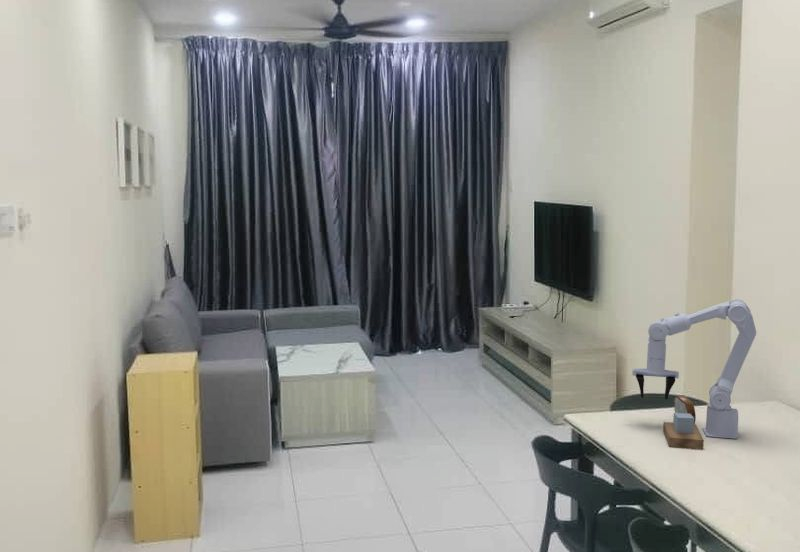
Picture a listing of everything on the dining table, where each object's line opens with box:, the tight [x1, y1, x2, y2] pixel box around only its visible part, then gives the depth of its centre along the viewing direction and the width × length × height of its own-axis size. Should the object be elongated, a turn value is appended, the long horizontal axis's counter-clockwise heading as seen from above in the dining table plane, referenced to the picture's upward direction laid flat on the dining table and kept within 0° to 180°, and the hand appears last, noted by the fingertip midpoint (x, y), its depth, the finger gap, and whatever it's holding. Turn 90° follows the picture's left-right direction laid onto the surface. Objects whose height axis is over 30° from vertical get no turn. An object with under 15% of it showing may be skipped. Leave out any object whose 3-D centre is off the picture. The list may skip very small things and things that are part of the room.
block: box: [672, 412, 694, 434], centre depth 256 cm, size 5×5×5 cm
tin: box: [673, 394, 696, 424], centre depth 275 cm, size 15×3×8 cm, turn 179°
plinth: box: [662, 421, 704, 450], centre depth 256 cm, size 10×16×3 cm, turn 168°
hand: (654, 397), depth 269 cm, fingers open, 7 cm apart
